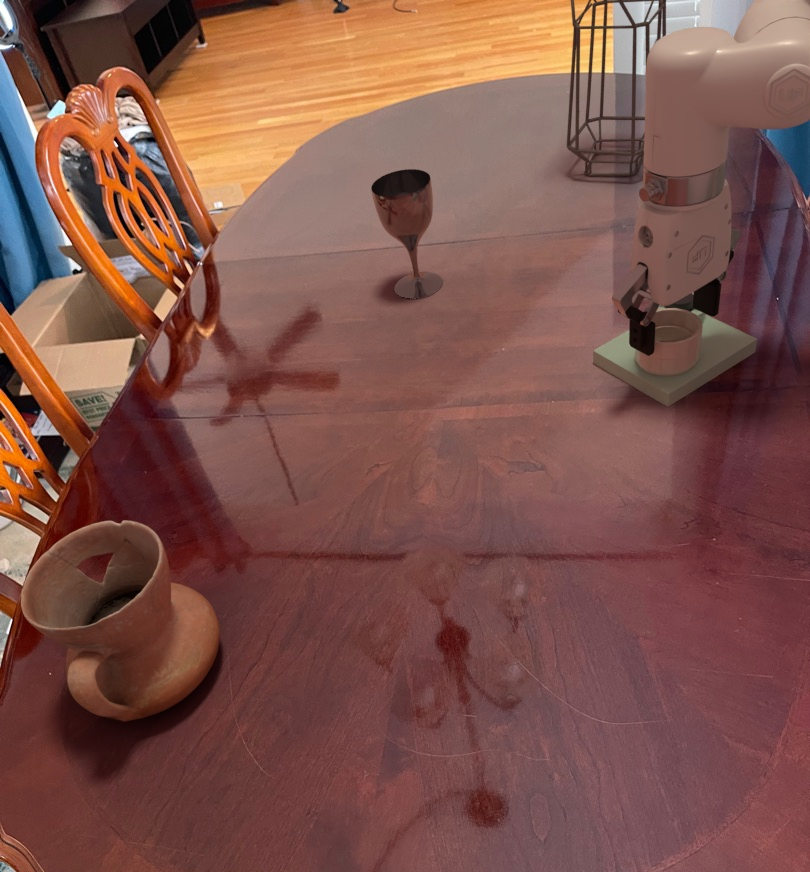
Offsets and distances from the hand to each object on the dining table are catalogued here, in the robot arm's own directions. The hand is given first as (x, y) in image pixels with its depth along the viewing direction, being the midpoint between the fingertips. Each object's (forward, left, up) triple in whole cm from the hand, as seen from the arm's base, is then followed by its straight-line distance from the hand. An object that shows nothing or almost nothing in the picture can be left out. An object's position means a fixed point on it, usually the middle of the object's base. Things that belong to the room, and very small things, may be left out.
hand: (673, 330), depth 91 cm
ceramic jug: (+66, -2, -6) cm, 66 cm away
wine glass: (+9, -40, -6) cm, 41 cm away
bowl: (0, 0, -4) cm, 4 cm away
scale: (-2, -2, -6) cm, 6 cm away
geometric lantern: (-34, -45, -6) cm, 57 cm away
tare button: (-7, -5, -3) cm, 9 cm away
